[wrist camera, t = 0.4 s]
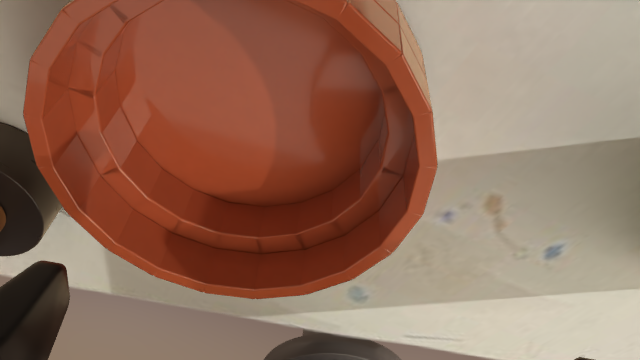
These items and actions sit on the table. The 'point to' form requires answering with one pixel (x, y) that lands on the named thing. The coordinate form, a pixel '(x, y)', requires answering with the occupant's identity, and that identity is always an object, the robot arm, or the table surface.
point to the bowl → (236, 136)
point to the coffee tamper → (22, 195)
